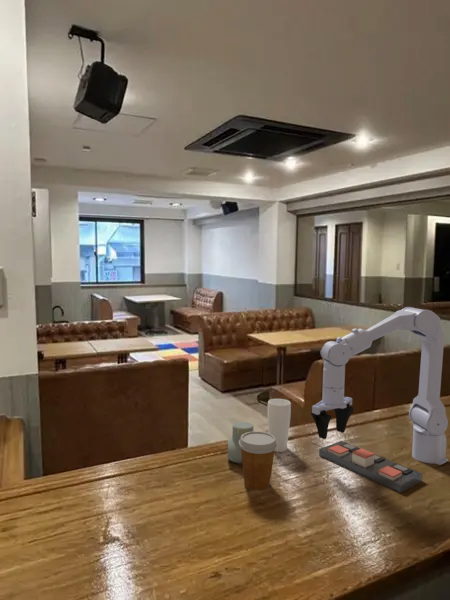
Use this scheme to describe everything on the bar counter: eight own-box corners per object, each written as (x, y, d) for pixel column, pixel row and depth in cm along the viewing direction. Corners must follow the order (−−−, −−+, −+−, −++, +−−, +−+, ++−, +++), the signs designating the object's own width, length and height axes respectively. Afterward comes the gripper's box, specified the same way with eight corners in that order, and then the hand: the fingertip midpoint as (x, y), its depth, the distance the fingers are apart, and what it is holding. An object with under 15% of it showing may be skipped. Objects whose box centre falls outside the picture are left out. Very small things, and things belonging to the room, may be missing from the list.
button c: (387, 476, 112) (387, 465, 112) (401, 482, 109) (402, 471, 109) (378, 480, 110) (378, 470, 110) (392, 487, 107) (393, 476, 106)
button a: (336, 454, 125) (337, 444, 125) (348, 459, 122) (348, 449, 122) (327, 457, 123) (328, 448, 122) (339, 463, 119) (339, 453, 119)
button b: (361, 458, 118) (361, 448, 118) (373, 463, 115) (374, 453, 115) (351, 462, 116) (352, 451, 116) (364, 467, 113) (365, 457, 113)
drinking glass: (288, 457, 125) (290, 406, 124) (265, 455, 126) (266, 404, 125) (290, 447, 131) (291, 399, 130) (267, 445, 133) (268, 397, 132)
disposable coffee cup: (255, 471, 116) (256, 427, 115) (283, 484, 109) (285, 438, 108) (229, 483, 109) (230, 437, 108) (258, 498, 103) (259, 449, 102)
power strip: (322, 442, 136) (323, 431, 135) (421, 484, 110) (422, 471, 110) (300, 450, 130) (301, 439, 129) (399, 497, 104) (400, 483, 104)
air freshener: (258, 468, 118) (258, 432, 117) (227, 468, 118) (228, 432, 117) (255, 451, 129) (256, 418, 128) (227, 450, 129) (228, 417, 128)
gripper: (327, 394, 111) (325, 445, 112) (362, 385, 119) (360, 433, 120) (306, 387, 116) (305, 436, 117) (341, 379, 125) (339, 425, 126)
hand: (331, 434), depth 119 cm, fingers open, 7 cm apart
